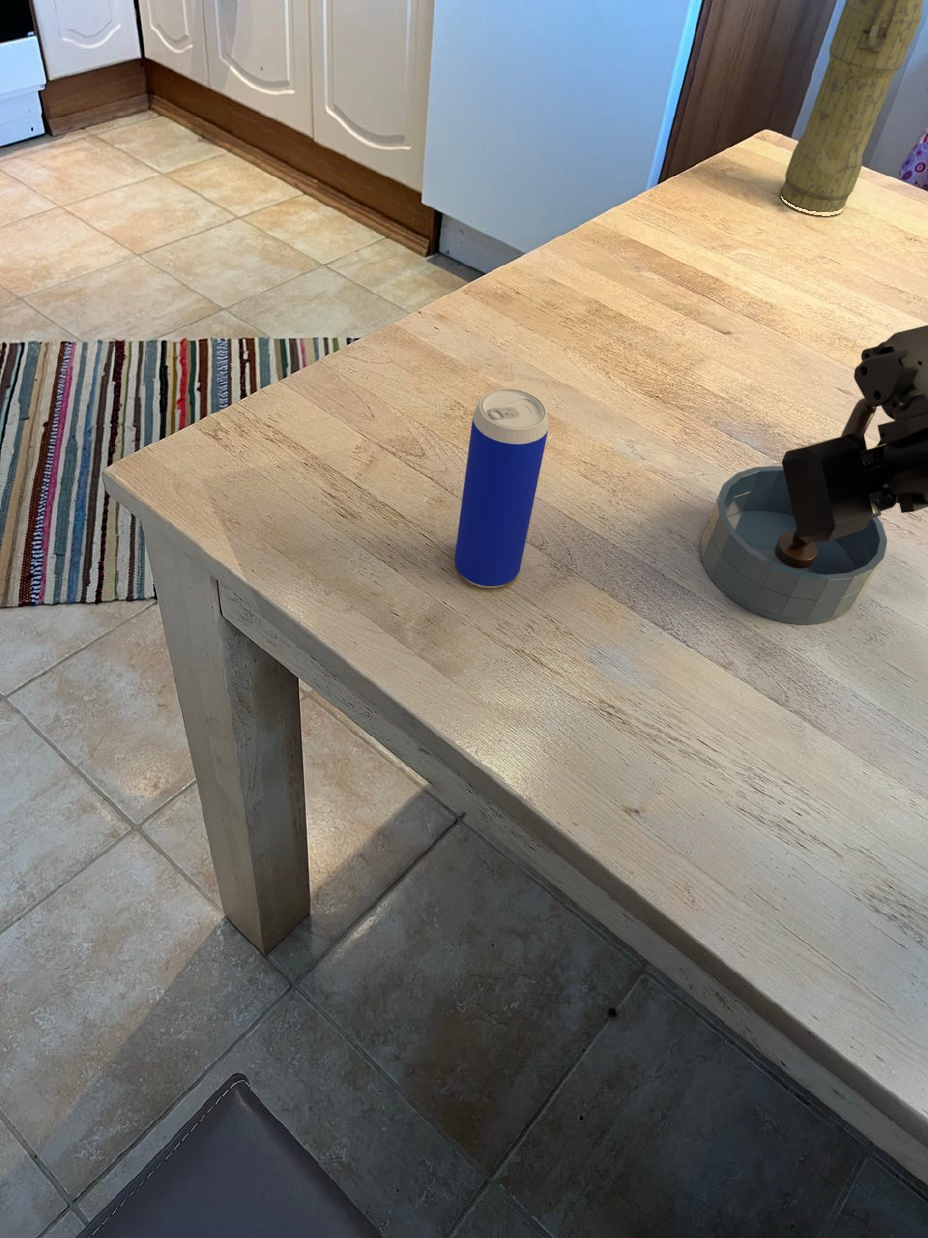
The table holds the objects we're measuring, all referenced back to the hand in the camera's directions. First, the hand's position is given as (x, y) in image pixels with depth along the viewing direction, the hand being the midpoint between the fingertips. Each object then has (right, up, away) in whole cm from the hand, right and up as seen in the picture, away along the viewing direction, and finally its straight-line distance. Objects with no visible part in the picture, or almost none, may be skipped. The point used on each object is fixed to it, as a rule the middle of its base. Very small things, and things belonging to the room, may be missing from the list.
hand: (812, 480), depth 72 cm
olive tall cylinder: (+20, +46, +56) cm, 75 cm away
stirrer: (0, -5, +4) cm, 7 cm away
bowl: (-1, -6, +6) cm, 8 cm away
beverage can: (-25, -7, +2) cm, 26 cm away
